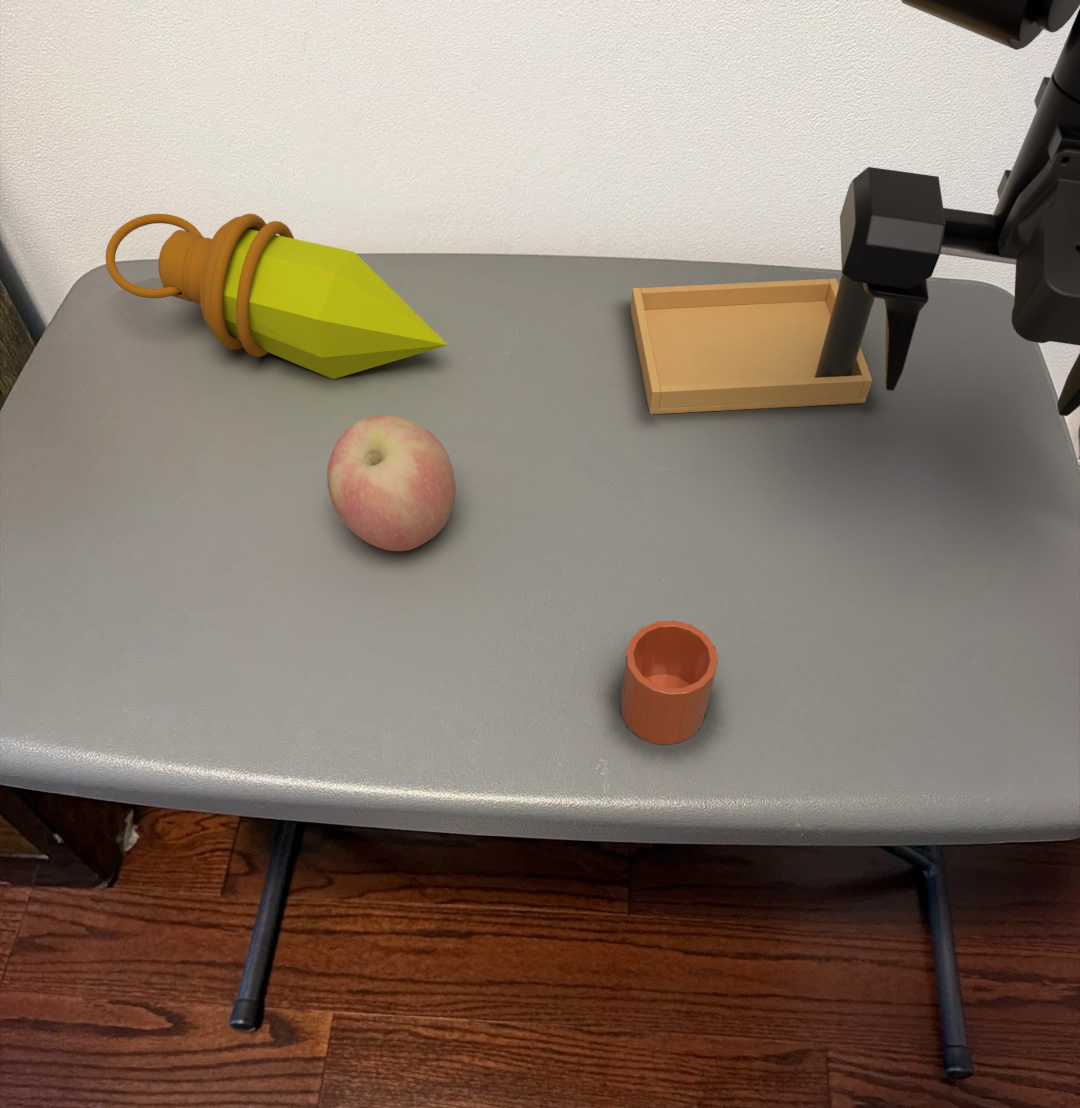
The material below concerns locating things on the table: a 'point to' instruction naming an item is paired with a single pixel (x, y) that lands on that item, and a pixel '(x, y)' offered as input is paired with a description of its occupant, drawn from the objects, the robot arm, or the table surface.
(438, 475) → the apple
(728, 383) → the tray
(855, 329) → the cylinder
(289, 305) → the plumb bob
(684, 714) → the pen cup
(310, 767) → the table surface
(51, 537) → the table surface
